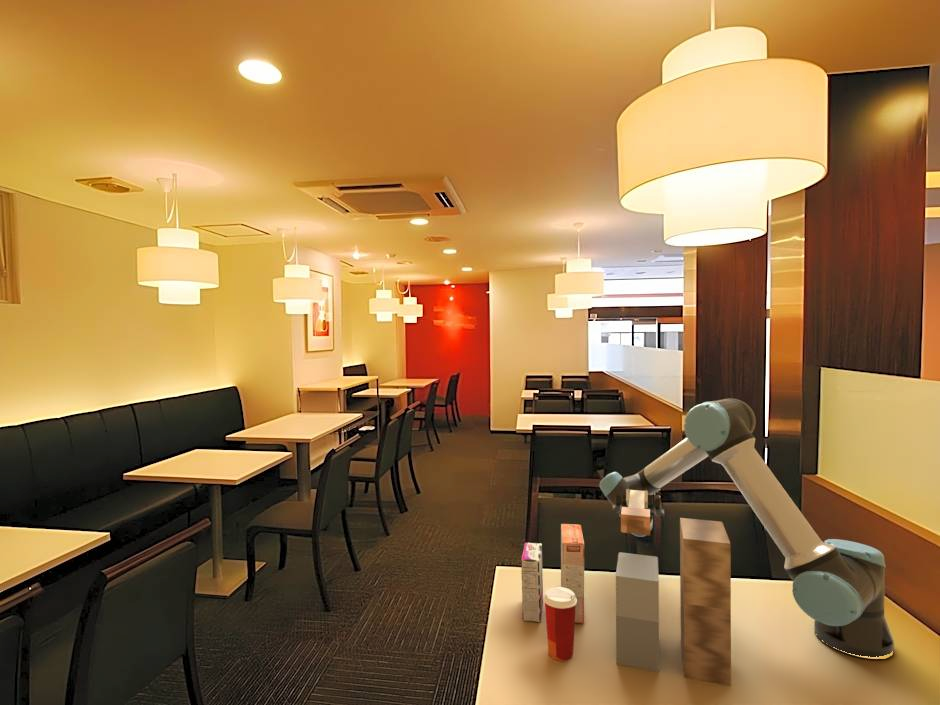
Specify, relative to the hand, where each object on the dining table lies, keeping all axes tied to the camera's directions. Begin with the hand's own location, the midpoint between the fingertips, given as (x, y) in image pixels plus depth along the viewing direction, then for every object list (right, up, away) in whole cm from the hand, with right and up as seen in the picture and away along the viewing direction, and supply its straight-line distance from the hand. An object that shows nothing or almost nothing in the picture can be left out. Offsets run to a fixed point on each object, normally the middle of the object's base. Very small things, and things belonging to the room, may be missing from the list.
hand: (636, 495), depth 123 cm
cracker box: (-13, -35, +14) cm, 40 cm away
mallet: (-1, -4, -2) cm, 5 cm away
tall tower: (+12, -35, -9) cm, 38 cm away
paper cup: (-19, -35, -5) cm, 41 cm away
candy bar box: (-24, -35, +13) cm, 44 cm away
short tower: (-1, -35, -4) cm, 35 cm away
